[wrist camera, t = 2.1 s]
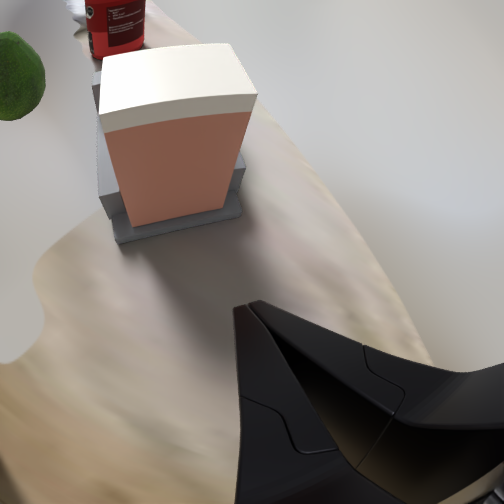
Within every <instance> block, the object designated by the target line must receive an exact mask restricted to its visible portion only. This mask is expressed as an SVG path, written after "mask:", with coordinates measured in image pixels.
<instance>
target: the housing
mask: <svg viewBox="0 0 504 504" xmlns="http://www.w3.org/2000/svg"><path fill="white" fill-rule="evenodd" d="M101 76H102V71H99V72H95V73H93V80H92V90H93V94H94V99H95V104H96V108H97V175H98V192H99V198H100V200H101V203H102V205H103V207H104V209H105V211H106V213H107V216H108V218H109V220H110V219H112V223H113V230H114V237H115V241H116V243H117V244H121V243H126V242H130V241H134V240H138V239H142V238H146V237H150V236H155V235H159V234H163V233H168V232H172V231H176V230H181V229H185V228H190V227H194V226H199V225H204V224H208V223H213V222H218V221H222V220H227V219H232V218H237V217H240V216H241V213H242V208H241V206H240V203H239V200H238V197H237V194H236V193H237V192H238V189H239V186H240V184H241V181H242V178H243V175H244V172H245V169H246V166H245V163H244V161H243V158H242V156H241V153H240V151H239V154H238V157H237V161H236V164H235V167H234V171H233V174H232V177H231V181H230V184H229V188H228V191H227V195H226V198H225V201H224V205H223V208H220V209H215V210H210V211H205V212H200V213H195V214H190V215H186V216H181V217H177V218H172V219H167V220H163V221H159V222H154V223H150V224H146V225H141V226H137V227H133V228H132V225H131V222H130V219H129V216H128V214H127V211H126V208H125V205H124V202H123V199H122V195H121V192H120V189H119V186H118V183H117V179H116V176H115V173H114V169H113V166H112V162H111V159H110V155H109V152H108V148H107V144H106V140H105V136H104V132H103V128H102V124H101V120H100V116H99V107H100V88H101Z"/></svg>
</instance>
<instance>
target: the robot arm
mask: <svg viewBox="0 0 504 504" xmlns="http://www.w3.org/2000/svg"><path fill="white" fill-rule="evenodd" d="M233 325H234V340H235V355H236V369H237V382H238V395H239V409H240V448H239V460H238V471H237V482H236V493H235V502H234V504H504V363H501V364H498V365H495V366H492V367H488V368H485V369H482V370H478V371H473V372H453V371H448V370H444V369H440V368H436V367H432V366H428V365H425V364H421V363H417V362H413V361H410V360H406V359H403V358H400V357H397V356H393V355H391V354H388V353H385V352H382V351H380V350H377V349H374V348H372V347H369V346H367V345H362V343H359V342H357V341H354V340H352V339H350V338H347V337H345V336H342V335H340V334H338V333H335V332H333V331H330V330H328V329H326V328H323V327H321V326H319V325H316V324H314V323H312V322H309V321H307V320H305V319H303V318H300V317H298V316H296V315H293V314H291V313H289V312H287V311H284V310H282V309H280V308H278V307H275V306H273V305H271V304H269V303H267V302H264V301H262V300H257V301H254V302H251V303H248V304H247V305H245V304H244V305H241V306H237V307H234V308H233Z"/></svg>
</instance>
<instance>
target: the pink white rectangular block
mask: <svg viewBox="0 0 504 504" xmlns="http://www.w3.org/2000/svg"><path fill="white" fill-rule="evenodd" d="M257 95H258V93H257V91H256V89H255V87H254V86H253V84H252V82H251V80H250V78H249V77H248V75H247V73H246V71H245V70H244V68H243V66H242V64H241V63H240V61H239V59H238V58H237V56H236V54H235V53H234V51H233V49H232V48H231V46H230V44H229V43H228V44H196V45H181V46H171V47H162V48H154V49H147V50H140V51H134V52H128V53H123V54H118V55H113V56H108V57H104V58H103V65H102V76H101V88H100V107H99V116H100V120H101V124H102V128H103V132H104V136H105V140H106V144H107V148H108V152H109V155H110V159H111V162H112V166H113V169H114V173H115V176H116V179H117V183H118V186H119V189H120V192H121V195H122V199H123V202H124V205H125V208H126V211H127V214H128V216H129V219H130V222H131V225H132V228H133V227H137V226H141V225H146V224H150V223H154V222H159V221H163V220H167V219H172V218H177V217H181V216H186V215H190V214H195V213H200V212H205V211H210V210H215V209H220V208H223V205H224V201H225V198H226V195H227V191H228V188H229V184H230V181H231V177H232V174H233V171H234V167H235V164H236V161H237V157H238V154H239V151H240V148H241V144H242V141H243V138H244V135H245V132H246V129H247V125H248V122H249V119H250V116H251V113H252V110H253V107H254V104H255V101H256V98H257Z"/></svg>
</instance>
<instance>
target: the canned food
mask: <svg viewBox="0 0 504 504" xmlns="http://www.w3.org/2000/svg"><path fill="white" fill-rule="evenodd" d="M145 2H146V0H85V10H86V21H87V31H88V39H89V47H90V52H91V54H92V55H93V57H94V58H96V59H99V60H103V58H104V57H108V56H113V55H118V54H123V53H128V52H134V51H138V50H139V49H140V48H141V47H142V44H143V42H144V22H145Z"/></svg>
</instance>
